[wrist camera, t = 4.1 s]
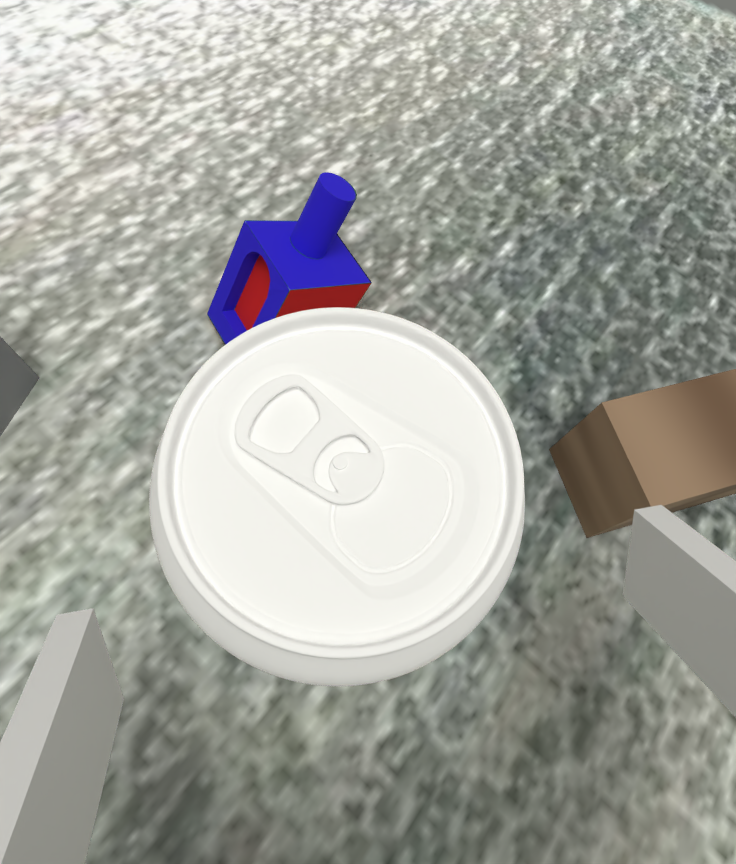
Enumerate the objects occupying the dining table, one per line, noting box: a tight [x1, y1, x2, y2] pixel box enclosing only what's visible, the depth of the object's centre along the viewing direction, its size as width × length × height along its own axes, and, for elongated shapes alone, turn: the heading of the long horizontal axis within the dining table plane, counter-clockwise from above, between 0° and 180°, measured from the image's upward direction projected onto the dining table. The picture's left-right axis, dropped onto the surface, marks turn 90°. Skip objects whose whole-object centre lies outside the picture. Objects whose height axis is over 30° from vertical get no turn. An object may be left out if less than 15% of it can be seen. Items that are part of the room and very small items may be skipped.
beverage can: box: [149, 307, 525, 686], centre depth 17 cm, size 8×8×12 cm
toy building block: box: [207, 173, 372, 345], centre depth 23 cm, size 4×4×8 cm
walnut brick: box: [549, 369, 736, 538], centre depth 23 cm, size 8×4×5 cm, turn 107°
